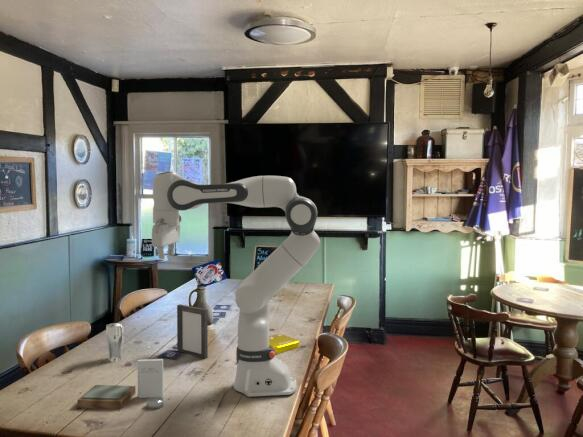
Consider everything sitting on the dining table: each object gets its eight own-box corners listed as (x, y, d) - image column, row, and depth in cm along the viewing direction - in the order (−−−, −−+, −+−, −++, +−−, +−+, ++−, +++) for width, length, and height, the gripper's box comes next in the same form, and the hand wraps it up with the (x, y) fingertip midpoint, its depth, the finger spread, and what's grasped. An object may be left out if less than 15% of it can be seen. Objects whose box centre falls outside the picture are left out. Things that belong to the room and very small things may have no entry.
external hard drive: (138, 395, 161) (138, 359, 161) (163, 395, 162) (163, 358, 162) (137, 398, 160) (137, 361, 159) (162, 397, 161) (162, 360, 160)
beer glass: (127, 361, 195) (127, 325, 194) (111, 366, 189) (110, 328, 189) (119, 357, 199) (118, 321, 199) (103, 361, 194) (102, 325, 194)
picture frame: (177, 353, 204) (177, 305, 203) (180, 352, 206) (180, 304, 205) (204, 361, 196) (204, 310, 195) (208, 359, 197) (208, 309, 196)
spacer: (165, 403, 156) (165, 397, 156) (160, 410, 151) (160, 404, 151) (150, 403, 156) (150, 397, 156) (144, 409, 151) (144, 403, 151)
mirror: (135, 393, 163) (135, 384, 163) (120, 409, 151) (120, 399, 151) (95, 392, 164) (95, 383, 164) (77, 407, 152) (77, 398, 152)
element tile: (274, 357, 201) (274, 346, 201) (253, 349, 213) (253, 338, 212) (301, 350, 211) (301, 339, 211) (279, 342, 222) (279, 332, 222)
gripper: (165, 219, 159) (165, 261, 159) (182, 217, 179) (183, 253, 180) (146, 219, 159) (146, 261, 160) (166, 216, 179) (166, 253, 180)
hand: (166, 257), depth 170 cm, fingers open, 8 cm apart
